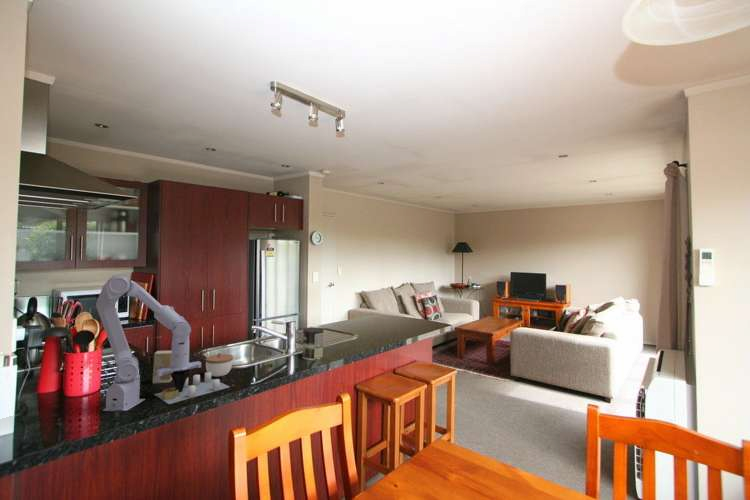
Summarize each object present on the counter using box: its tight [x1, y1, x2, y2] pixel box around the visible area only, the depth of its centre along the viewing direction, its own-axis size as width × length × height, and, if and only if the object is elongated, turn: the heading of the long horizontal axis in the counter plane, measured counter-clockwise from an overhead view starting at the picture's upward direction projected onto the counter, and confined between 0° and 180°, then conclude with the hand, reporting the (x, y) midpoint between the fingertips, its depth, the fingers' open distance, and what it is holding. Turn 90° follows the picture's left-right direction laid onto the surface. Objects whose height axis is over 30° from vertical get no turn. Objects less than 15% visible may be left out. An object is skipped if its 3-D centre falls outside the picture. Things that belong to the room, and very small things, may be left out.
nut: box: [161, 387, 178, 400], centre depth 129 cm, size 4×5×2 cm
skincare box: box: [152, 350, 173, 384], centre depth 145 cm, size 6×4×12 cm
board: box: [154, 371, 230, 405], centre depth 136 cm, size 22×13×4 cm, turn 141°
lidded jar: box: [205, 352, 234, 378], centre depth 155 cm, size 11×11×9 cm
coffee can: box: [302, 327, 324, 361], centre depth 185 cm, size 10×10×14 cm
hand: (179, 391), depth 132 cm, fingers closed
